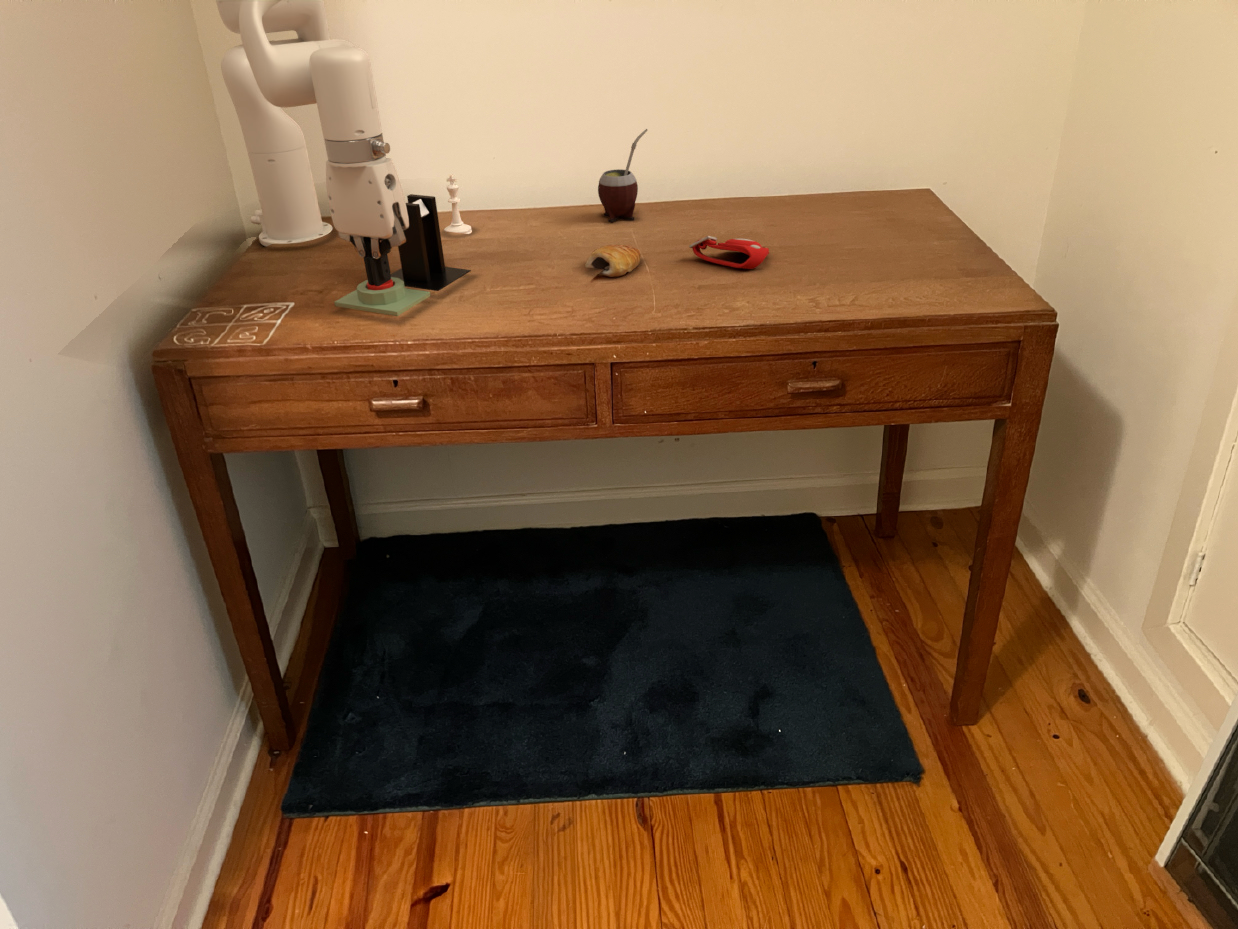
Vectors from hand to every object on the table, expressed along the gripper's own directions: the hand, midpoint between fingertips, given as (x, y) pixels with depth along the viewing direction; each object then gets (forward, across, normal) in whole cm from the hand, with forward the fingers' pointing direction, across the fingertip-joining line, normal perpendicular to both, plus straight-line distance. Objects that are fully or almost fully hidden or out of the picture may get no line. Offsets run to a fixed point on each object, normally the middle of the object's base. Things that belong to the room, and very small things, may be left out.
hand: (380, 281), depth 130 cm
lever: (-3, +4, -11) cm, 12 cm away
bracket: (+4, 0, -11) cm, 11 cm away
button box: (+4, 0, 0) cm, 4 cm away
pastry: (+4, -25, -26) cm, 36 cm away
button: (+2, 0, 0) cm, 2 cm away
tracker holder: (+4, -41, -36) cm, 54 cm away
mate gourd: (+4, -15, -51) cm, 53 cm away
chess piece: (+4, +9, -34) cm, 35 cm away
